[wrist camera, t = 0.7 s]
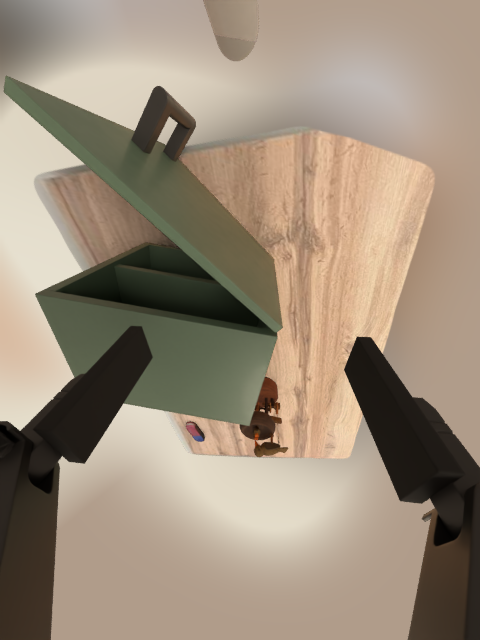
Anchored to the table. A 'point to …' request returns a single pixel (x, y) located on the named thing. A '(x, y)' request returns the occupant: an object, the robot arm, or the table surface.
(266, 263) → the door
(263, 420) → the music box
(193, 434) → the eraser
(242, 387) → the cupboard
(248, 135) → the table surface
